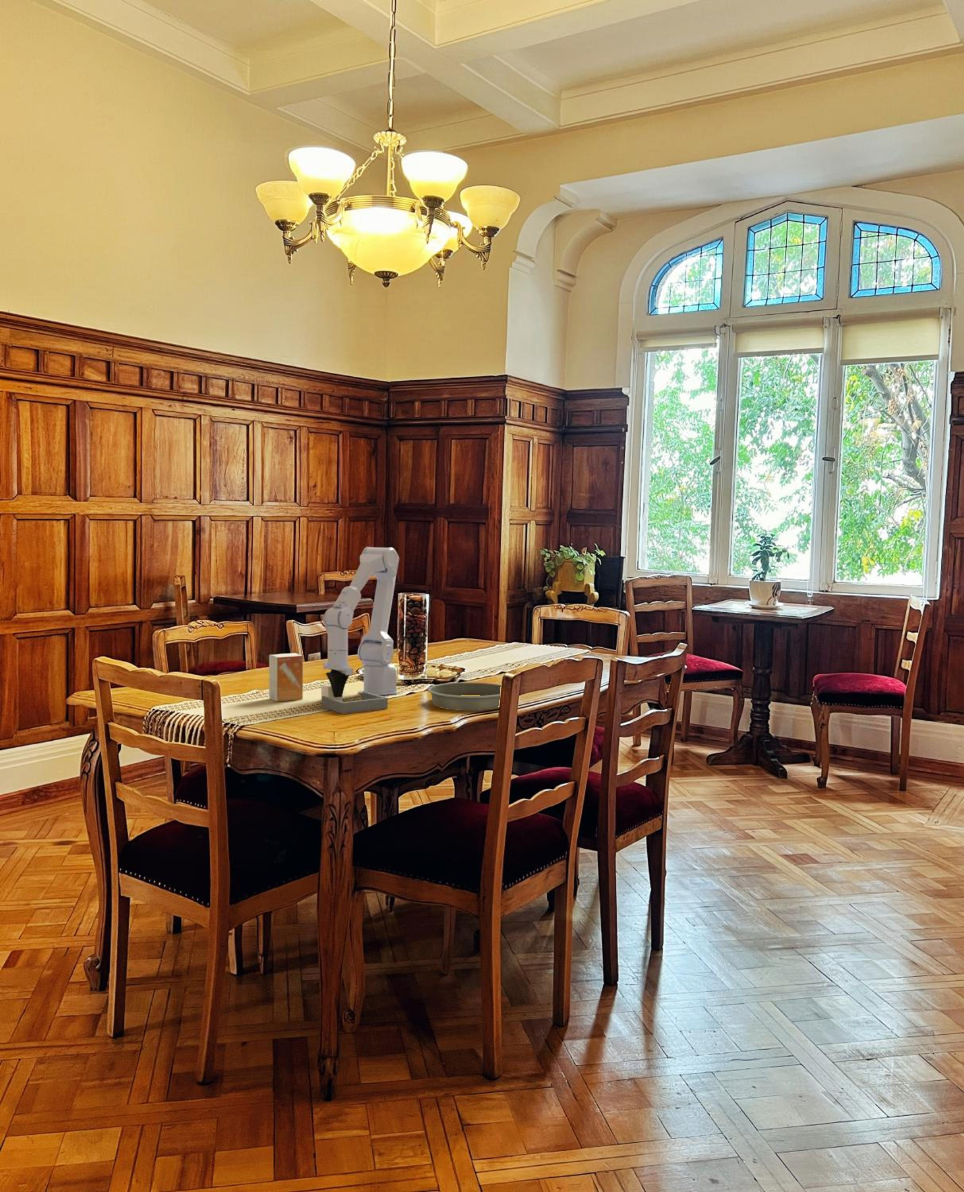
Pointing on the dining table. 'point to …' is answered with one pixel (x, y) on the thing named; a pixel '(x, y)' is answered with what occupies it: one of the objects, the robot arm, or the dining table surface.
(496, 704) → the cake pan
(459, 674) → the dining table surface
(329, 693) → the ivory cube
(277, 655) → the small box
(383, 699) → the gray tray
